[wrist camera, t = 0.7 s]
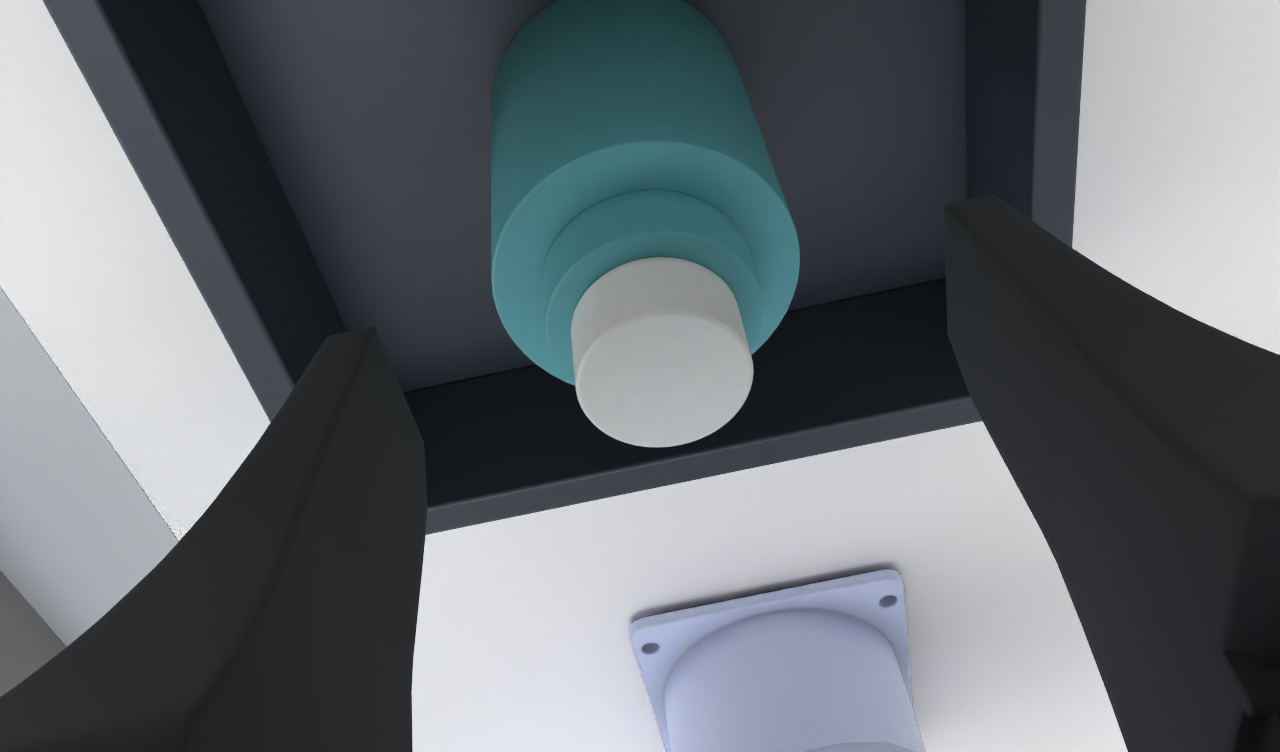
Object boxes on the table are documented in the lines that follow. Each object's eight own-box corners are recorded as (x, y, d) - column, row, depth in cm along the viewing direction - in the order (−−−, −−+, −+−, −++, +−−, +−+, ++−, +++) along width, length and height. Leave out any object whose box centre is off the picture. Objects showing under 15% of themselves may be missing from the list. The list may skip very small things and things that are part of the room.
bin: (997, 285, 28) (1064, 405, 25) (356, 420, 29) (340, 553, 25) (1002, -379, 19) (1108, -330, 16) (82, -161, 20) (1, -71, 17)
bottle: (755, 185, 25) (848, 468, 19) (526, 235, 26) (539, 531, 19) (722, -42, 22) (819, 202, 15) (460, 16, 22) (447, 282, 16)
